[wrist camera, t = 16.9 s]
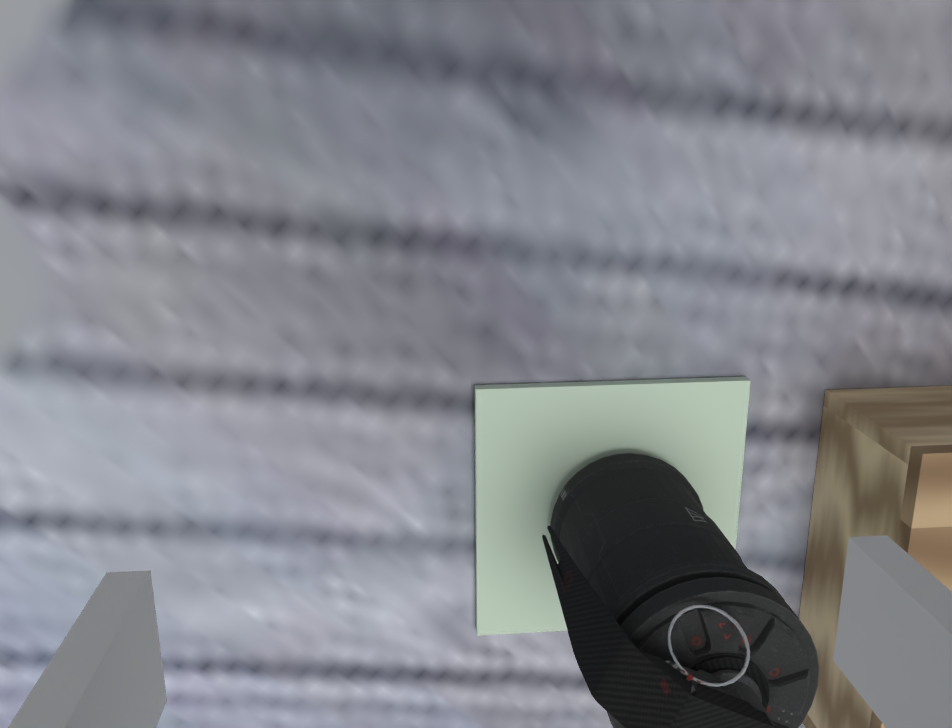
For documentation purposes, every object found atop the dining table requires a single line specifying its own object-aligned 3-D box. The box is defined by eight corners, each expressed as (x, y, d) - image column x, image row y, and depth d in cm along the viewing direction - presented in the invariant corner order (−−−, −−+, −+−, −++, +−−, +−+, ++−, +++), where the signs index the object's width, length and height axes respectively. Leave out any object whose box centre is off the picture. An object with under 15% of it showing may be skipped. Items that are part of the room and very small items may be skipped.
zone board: (474, 385, 49) (475, 389, 48) (745, 376, 50) (750, 380, 50) (476, 628, 54) (477, 635, 53) (724, 614, 55) (729, 621, 54)
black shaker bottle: (649, 604, 53) (788, 878, 34) (491, 540, 51) (545, 796, 32) (722, 479, 51) (913, 697, 32) (561, 408, 49) (664, 597, 30)
